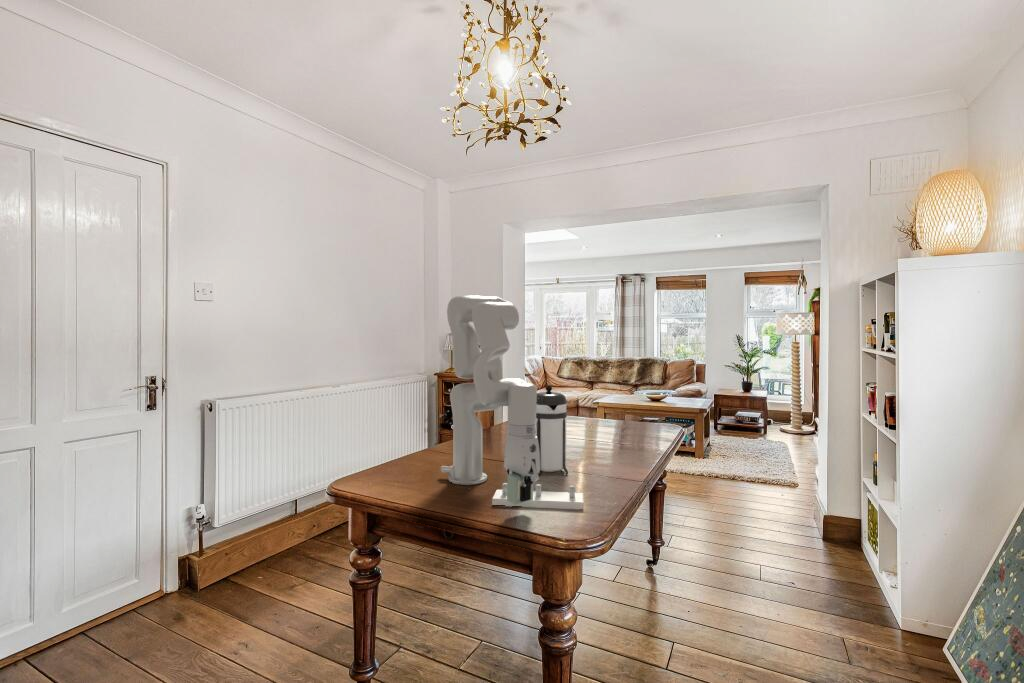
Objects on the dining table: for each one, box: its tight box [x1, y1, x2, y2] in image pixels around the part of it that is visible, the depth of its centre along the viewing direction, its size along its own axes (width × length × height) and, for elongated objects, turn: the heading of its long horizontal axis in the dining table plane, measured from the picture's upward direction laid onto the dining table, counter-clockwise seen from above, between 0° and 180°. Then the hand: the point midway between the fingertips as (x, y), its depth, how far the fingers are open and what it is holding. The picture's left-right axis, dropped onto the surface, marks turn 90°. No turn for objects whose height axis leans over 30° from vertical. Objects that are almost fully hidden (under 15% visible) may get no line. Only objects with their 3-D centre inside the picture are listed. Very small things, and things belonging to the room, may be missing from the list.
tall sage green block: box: [506, 472, 534, 505], centre depth 133 cm, size 6×4×7 cm, turn 128°
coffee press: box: [536, 384, 569, 477], centre depth 174 cm, size 17×16×30 cm
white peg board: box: [491, 482, 584, 510], centre depth 141 cm, size 25×8×5 cm, turn 83°
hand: (520, 497), depth 133 cm, fingers closed on tall sage green block, 3 cm apart
